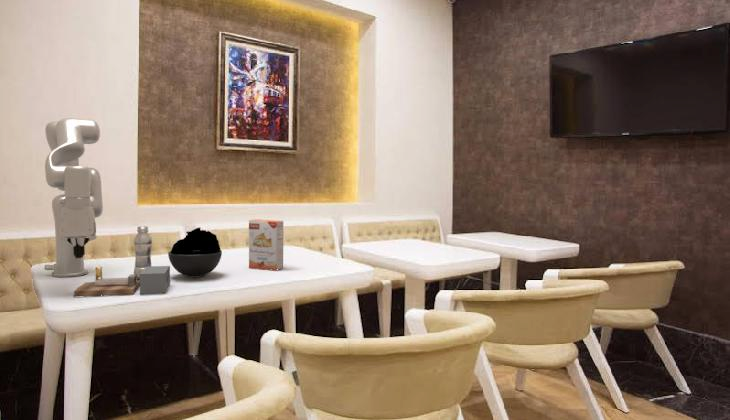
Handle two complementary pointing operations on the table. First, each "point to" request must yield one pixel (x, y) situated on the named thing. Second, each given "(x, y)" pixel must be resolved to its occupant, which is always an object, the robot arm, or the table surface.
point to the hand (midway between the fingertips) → (79, 257)
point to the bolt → (108, 279)
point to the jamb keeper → (154, 280)
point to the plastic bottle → (142, 250)
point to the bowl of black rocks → (196, 253)
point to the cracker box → (265, 244)
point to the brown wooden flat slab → (109, 288)
